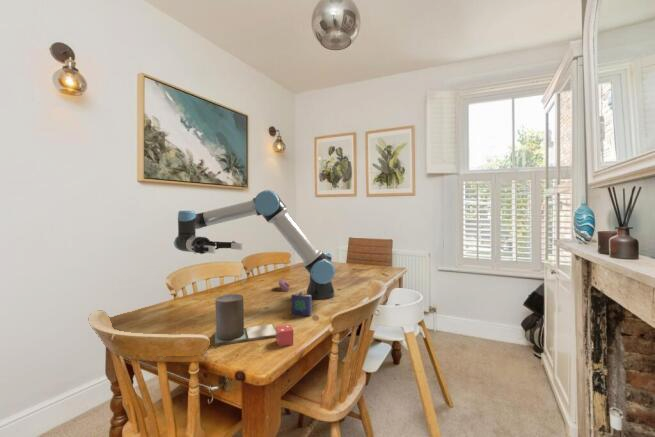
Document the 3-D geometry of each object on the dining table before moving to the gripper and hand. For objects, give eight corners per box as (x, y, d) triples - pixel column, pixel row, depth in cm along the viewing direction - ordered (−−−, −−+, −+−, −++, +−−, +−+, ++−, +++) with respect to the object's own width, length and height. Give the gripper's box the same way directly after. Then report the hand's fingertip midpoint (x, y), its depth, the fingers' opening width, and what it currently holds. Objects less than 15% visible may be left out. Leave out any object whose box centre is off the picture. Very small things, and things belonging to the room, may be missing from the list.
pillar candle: (249, 332, 112) (249, 291, 112) (230, 342, 103) (230, 298, 103) (229, 328, 116) (228, 289, 116) (209, 337, 107) (209, 295, 107)
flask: (312, 315, 134) (312, 290, 133) (310, 317, 131) (310, 292, 131) (292, 313, 136) (292, 289, 136) (290, 315, 133) (290, 291, 133)
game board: (273, 325, 121) (273, 323, 121) (278, 336, 110) (278, 334, 110) (214, 333, 113) (214, 331, 113) (214, 346, 103) (214, 343, 103)
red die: (289, 338, 109) (289, 324, 109) (293, 344, 104) (293, 329, 104) (276, 340, 107) (276, 326, 107) (278, 346, 102) (278, 331, 102)
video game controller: (282, 289, 182) (277, 279, 181) (289, 286, 182) (284, 275, 182) (282, 294, 172) (276, 283, 171) (289, 290, 172) (284, 279, 172)
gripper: (222, 250, 150) (251, 253, 138) (172, 256, 129) (201, 261, 117) (222, 234, 149) (251, 237, 137) (171, 238, 129) (201, 241, 117)
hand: (228, 248), depth 127 cm, fingers open, 13 cm apart
